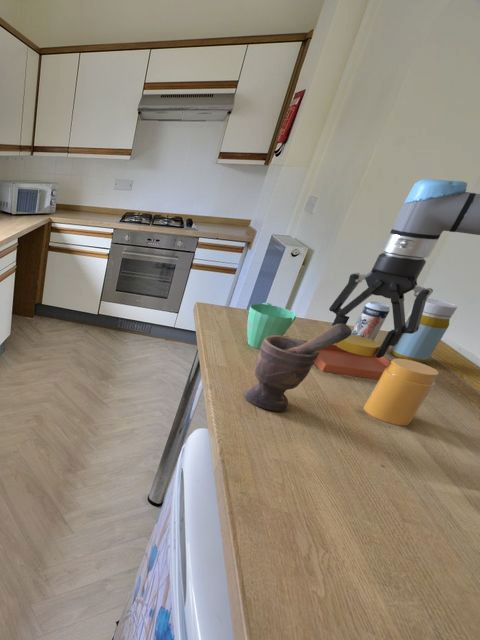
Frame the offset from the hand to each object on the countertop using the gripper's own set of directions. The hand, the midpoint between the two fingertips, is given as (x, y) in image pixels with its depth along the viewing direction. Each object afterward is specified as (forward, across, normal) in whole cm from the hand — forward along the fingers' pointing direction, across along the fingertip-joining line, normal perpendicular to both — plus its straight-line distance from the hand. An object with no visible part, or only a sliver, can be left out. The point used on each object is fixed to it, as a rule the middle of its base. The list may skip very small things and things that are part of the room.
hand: (355, 348), depth 99 cm
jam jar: (+4, +13, -20) cm, 25 cm away
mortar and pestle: (+4, +1, -38) cm, 38 cm away
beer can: (+4, -4, +16) cm, 17 cm away
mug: (+4, -17, -8) cm, 20 cm away
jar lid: (-2, 0, 0) cm, 2 cm away
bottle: (+4, +6, +20) cm, 21 cm away
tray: (+4, 0, 0) cm, 4 cm away
